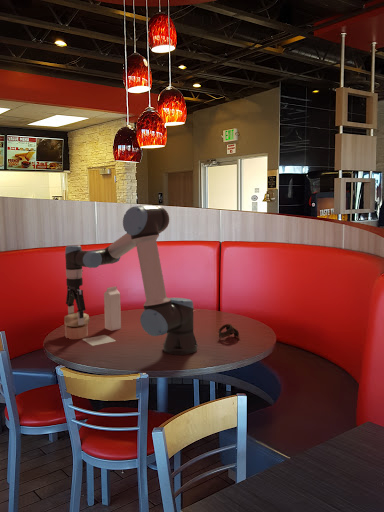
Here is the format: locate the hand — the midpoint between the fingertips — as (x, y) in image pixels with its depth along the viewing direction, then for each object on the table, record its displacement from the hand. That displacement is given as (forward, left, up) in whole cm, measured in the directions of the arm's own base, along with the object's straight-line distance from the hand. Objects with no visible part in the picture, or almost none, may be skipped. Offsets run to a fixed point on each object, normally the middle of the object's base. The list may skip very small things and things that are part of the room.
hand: (76, 321), depth 228 cm
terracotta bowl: (0, 0, -7) cm, 7 cm away
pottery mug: (-46, -58, -8) cm, 75 cm away
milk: (+1, -20, -8) cm, 21 cm away
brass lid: (0, 0, -1) cm, 1 cm away
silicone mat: (-13, -6, -7) cm, 16 cm away
